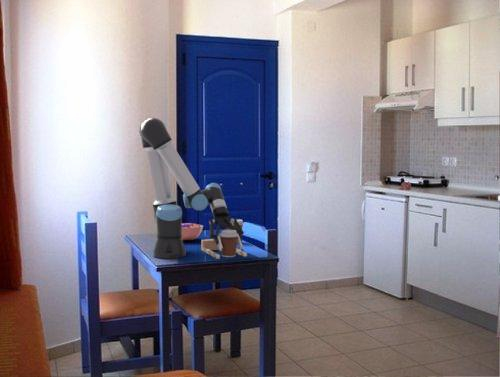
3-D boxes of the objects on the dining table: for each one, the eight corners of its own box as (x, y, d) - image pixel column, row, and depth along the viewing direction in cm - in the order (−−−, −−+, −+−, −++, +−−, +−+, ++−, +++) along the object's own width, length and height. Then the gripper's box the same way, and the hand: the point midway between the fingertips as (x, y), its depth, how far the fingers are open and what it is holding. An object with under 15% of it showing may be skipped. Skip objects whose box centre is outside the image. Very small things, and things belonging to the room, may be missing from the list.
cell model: (201, 243, 309) (201, 222, 308) (163, 243, 309) (163, 221, 308) (204, 238, 326) (204, 217, 325) (168, 237, 326) (168, 217, 325)
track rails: (246, 256, 276) (247, 253, 276) (216, 258, 270) (216, 255, 270) (231, 248, 294) (231, 245, 294) (203, 250, 289) (203, 247, 288)
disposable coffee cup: (225, 244, 306) (225, 221, 305) (225, 241, 316) (225, 219, 315) (243, 244, 307) (243, 221, 306) (243, 241, 316) (243, 219, 315)
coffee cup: (218, 257, 272) (218, 232, 271) (219, 254, 281) (219, 229, 280) (238, 257, 272) (238, 232, 271) (238, 254, 281) (238, 229, 280)
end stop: (231, 248, 294) (231, 239, 294) (203, 250, 289) (203, 240, 288) (229, 247, 297) (229, 238, 297) (201, 249, 291) (201, 239, 291)
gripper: (238, 214, 294) (250, 251, 280) (196, 216, 285) (206, 254, 272) (242, 204, 288) (255, 242, 275) (199, 206, 280) (210, 245, 267)
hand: (231, 248), depth 274 cm, fingers closed on coffee cup, 9 cm apart
